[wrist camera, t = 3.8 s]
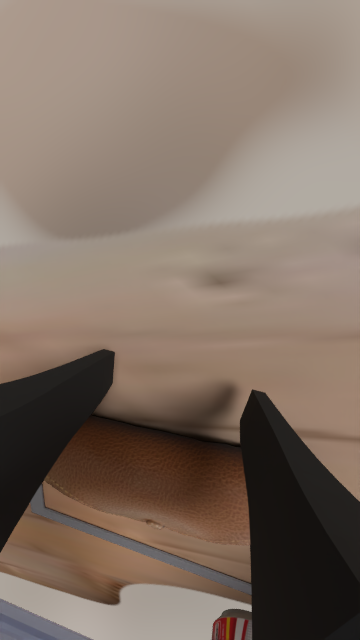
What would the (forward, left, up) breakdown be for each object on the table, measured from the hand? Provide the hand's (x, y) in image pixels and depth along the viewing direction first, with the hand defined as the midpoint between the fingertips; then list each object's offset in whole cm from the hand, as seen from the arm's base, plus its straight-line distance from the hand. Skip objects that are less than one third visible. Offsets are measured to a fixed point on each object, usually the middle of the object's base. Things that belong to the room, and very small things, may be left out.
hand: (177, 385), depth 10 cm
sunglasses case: (0, +8, -2) cm, 9 cm away
